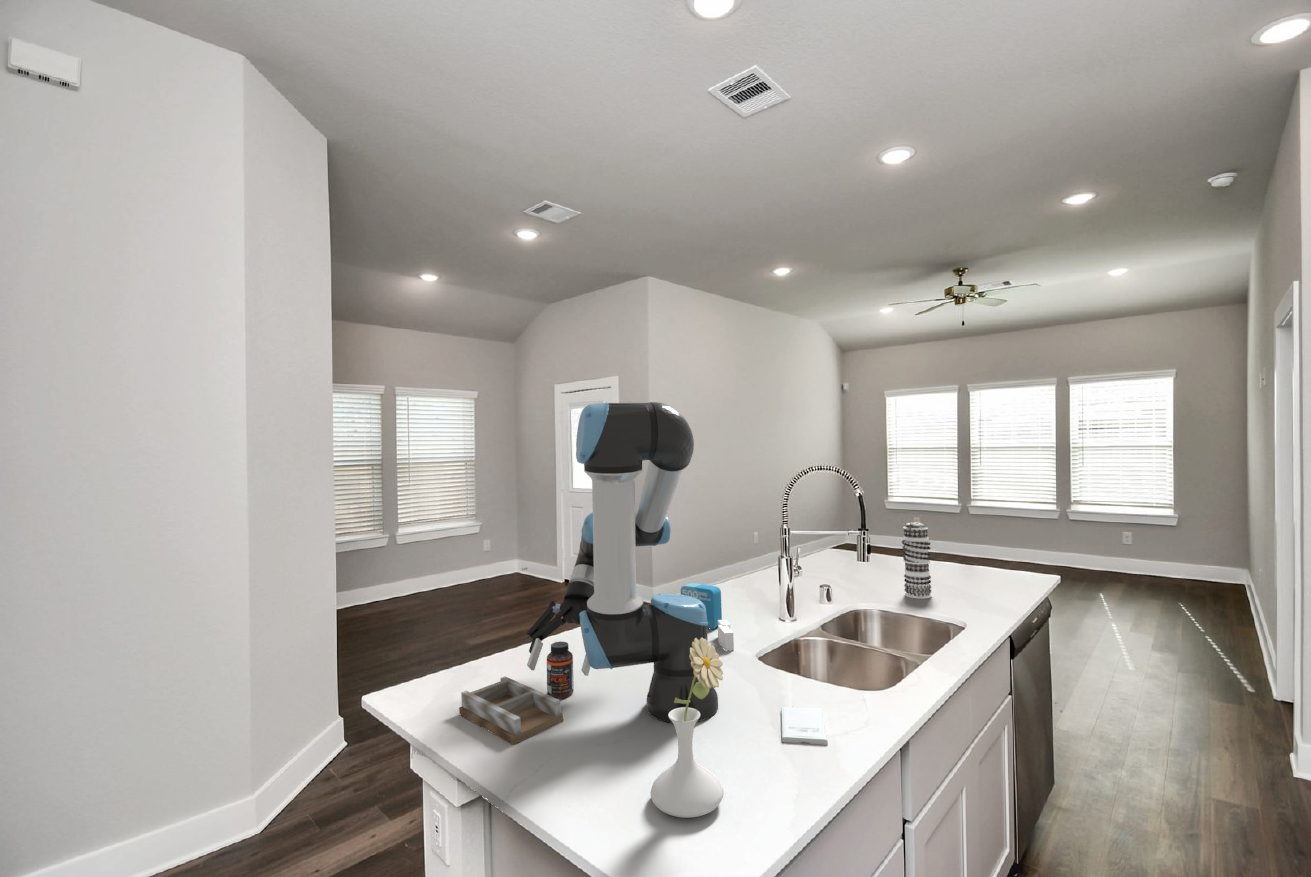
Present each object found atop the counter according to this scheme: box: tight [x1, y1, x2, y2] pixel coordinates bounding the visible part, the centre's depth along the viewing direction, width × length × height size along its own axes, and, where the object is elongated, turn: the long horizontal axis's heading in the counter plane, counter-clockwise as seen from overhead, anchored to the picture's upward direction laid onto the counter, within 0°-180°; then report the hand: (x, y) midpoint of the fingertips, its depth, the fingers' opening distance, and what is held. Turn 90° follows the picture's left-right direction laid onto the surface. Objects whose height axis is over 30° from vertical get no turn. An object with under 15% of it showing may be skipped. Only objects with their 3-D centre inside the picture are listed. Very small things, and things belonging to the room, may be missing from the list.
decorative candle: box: [901, 521, 932, 600], centre depth 205 cm, size 9×9×25 cm
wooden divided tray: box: [458, 676, 564, 745], centre depth 123 cm, size 20×12×4 cm, turn 47°
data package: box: [680, 582, 723, 630], centre depth 180 cm, size 12×4×12 cm, turn 53°
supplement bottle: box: [546, 640, 574, 699], centre depth 134 cm, size 6×6×11 cm
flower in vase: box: [650, 638, 725, 819], centre depth 93 cm, size 13×11×25 cm
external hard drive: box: [780, 706, 829, 745], centre depth 115 cm, size 2×8×12 cm
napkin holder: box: [717, 619, 735, 652], centre depth 164 cm, size 15×11×6 cm
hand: (557, 670), depth 133 cm, fingers open, 13 cm apart
